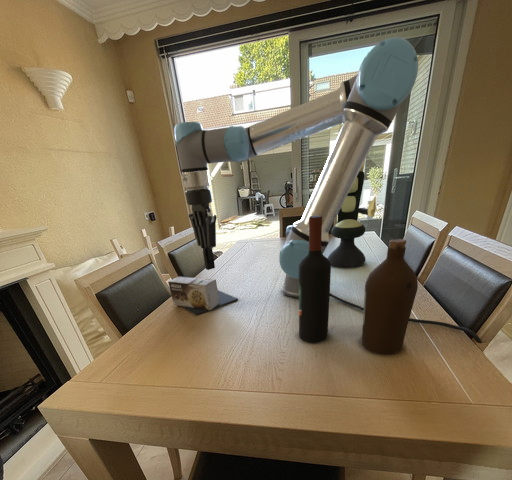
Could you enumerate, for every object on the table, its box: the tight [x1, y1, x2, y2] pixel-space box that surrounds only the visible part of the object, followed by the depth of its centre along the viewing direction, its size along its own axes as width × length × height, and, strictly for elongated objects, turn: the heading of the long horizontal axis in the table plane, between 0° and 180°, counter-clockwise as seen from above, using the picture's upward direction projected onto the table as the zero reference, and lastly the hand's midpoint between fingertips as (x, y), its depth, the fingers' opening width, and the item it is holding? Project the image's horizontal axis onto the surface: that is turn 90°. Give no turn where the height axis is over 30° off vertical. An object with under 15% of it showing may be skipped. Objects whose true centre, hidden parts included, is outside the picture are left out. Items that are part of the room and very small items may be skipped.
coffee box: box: [167, 275, 220, 311], centre depth 101 cm, size 9×6×16 cm
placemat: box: [181, 290, 239, 316], centre depth 105 cm, size 14×17×1 cm
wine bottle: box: [298, 216, 332, 344], centre depth 71 cm, size 8×8×30 cm
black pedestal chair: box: [326, 160, 377, 269], centre depth 122 cm, size 19×22×45 cm
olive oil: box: [361, 238, 419, 355], centre depth 66 cm, size 11×11×25 cm
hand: (210, 268), depth 96 cm, fingers closed
